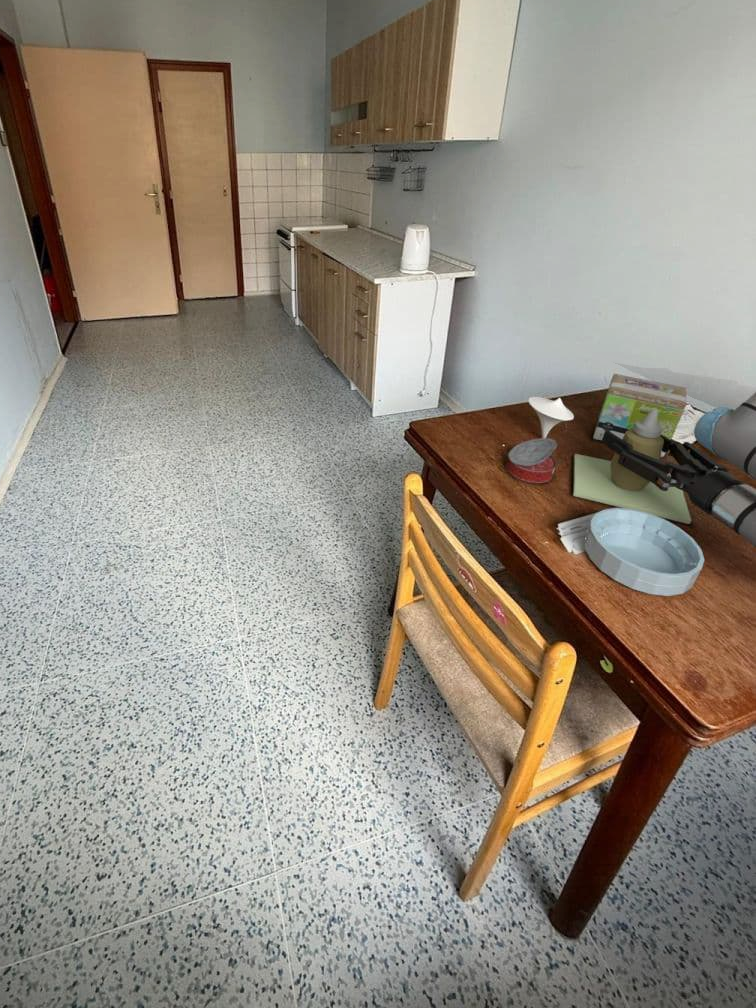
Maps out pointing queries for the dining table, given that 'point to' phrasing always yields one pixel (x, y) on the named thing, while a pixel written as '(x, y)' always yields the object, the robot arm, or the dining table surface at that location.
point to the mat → (626, 491)
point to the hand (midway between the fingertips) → (623, 433)
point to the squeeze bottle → (639, 450)
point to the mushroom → (550, 412)
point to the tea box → (639, 406)
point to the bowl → (643, 551)
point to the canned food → (532, 460)
